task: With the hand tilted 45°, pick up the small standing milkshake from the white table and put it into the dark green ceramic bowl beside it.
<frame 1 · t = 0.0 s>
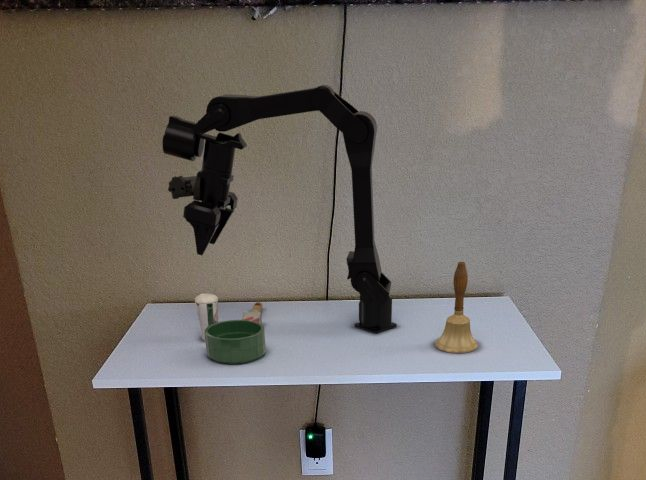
hand: (205, 249, 152), 15 cm above the table, tool pointing down, fingers open, 9 cm apart
bowl: (236, 354, 144), on the table
hand bell: (456, 346, 146), on the table
paintbrush: (253, 325, 159), on the table
milkshake: (212, 339, 152), on the table
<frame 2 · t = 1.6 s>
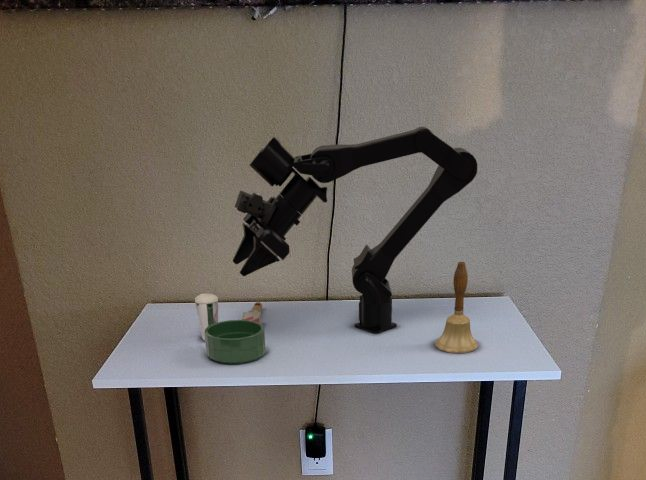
hand: (237, 268, 146), 13 cm above the table, tool tilted 45°, fingers open, 9 cm apart
nothing on the table moved.
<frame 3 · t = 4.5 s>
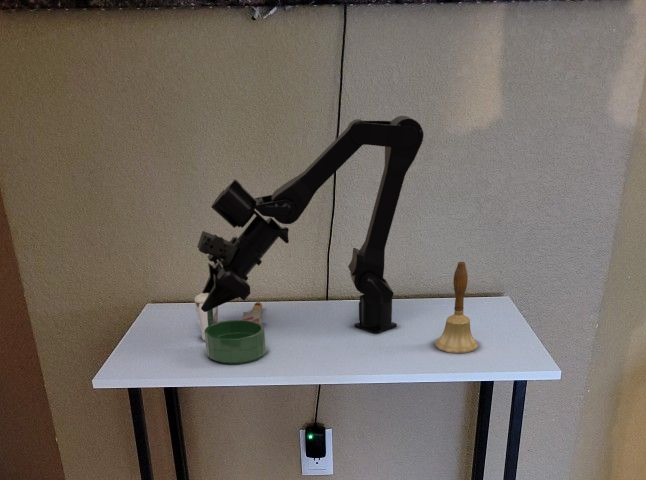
hand: (201, 306, 148), 7 cm above the table, tool tilted 45°, fingers closed on milkshake, 4 cm apart
milkshake: (212, 339, 152), on the table, touching gripper
everything else where it was.
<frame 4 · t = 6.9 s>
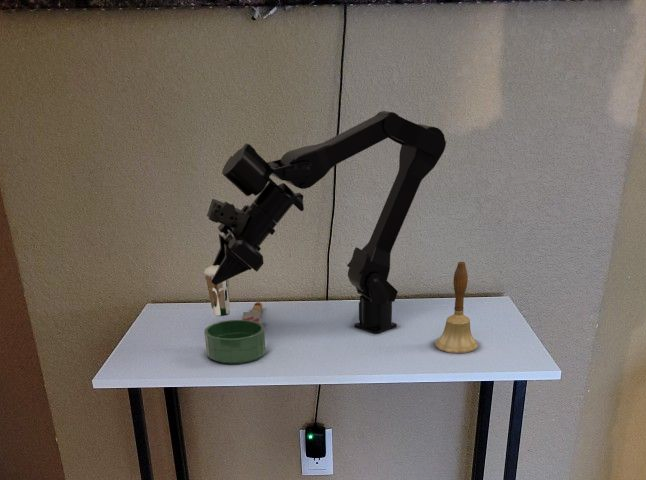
hand: (211, 279, 140), 13 cm above the table, tool tilted 45°, fingers closed on milkshake, 4 cm apart
milkshake: (223, 314, 144), point 6 cm above the table, touching gripper
everything else where it was.
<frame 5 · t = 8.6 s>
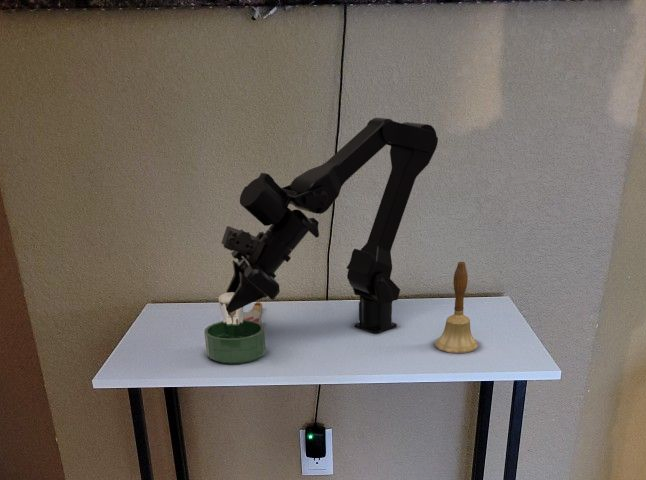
hand: (225, 307, 139), 9 cm above the table, tool tilted 45°, fingers closed on milkshake, 4 cm apart
milkshake: (237, 341, 143), point 3 cm above the table, touching gripper
everything else where it was.
when the fingers open (7 cm above the table, at t = 9.7 s): milkshake stays where it is, resting on bowl.
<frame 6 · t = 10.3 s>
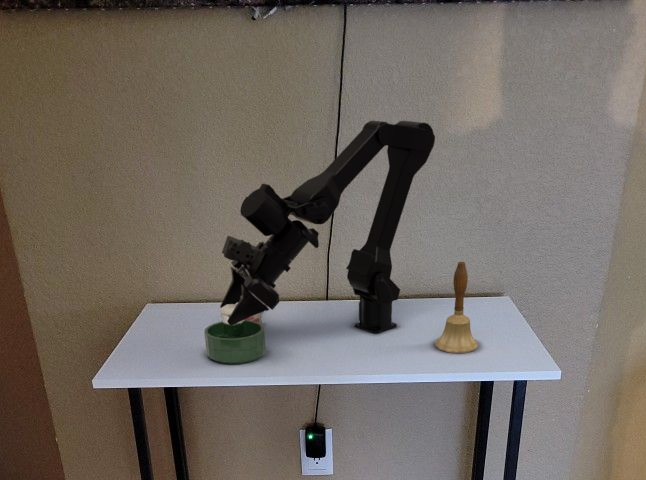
hand: (225, 315, 139), 8 cm above the table, tool tilted 45°, fingers open, 9 cm apart
milkshake: (237, 352, 144), resting on bowl
everything else where it was.
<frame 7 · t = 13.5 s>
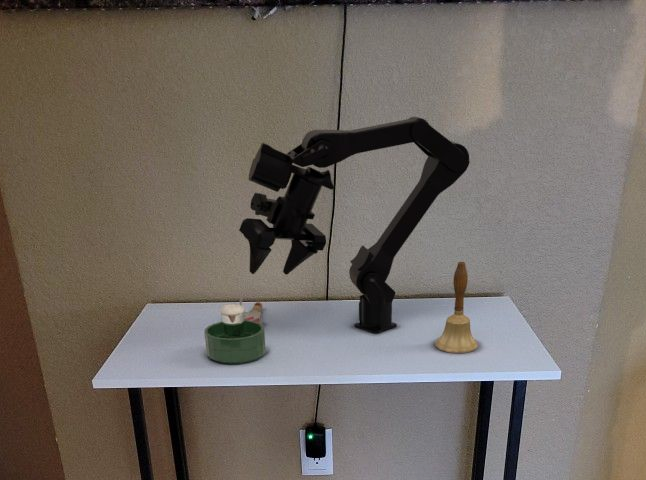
hand: (268, 273, 150), 12 cm above the table, tool tilted 25°, fingers open, 9 cm apart
nothing on the table moved.
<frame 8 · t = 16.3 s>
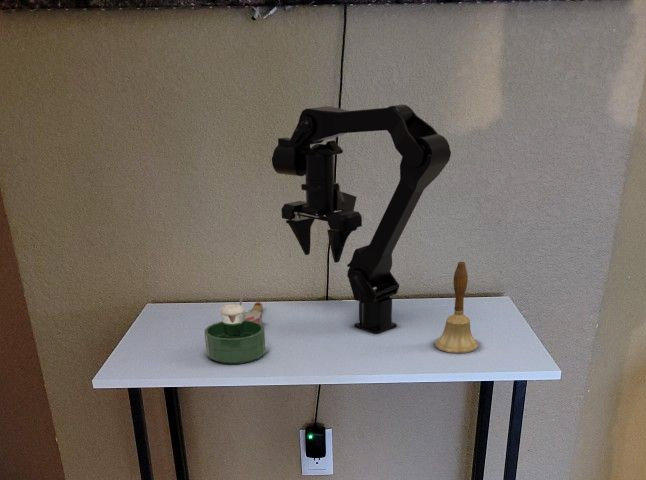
hand: (321, 258, 157), 12 cm above the table, tool pointing down, fingers open, 9 cm apart
nothing on the table moved.
at the end: milkshake inside the target area in the bowl (0.2 cm from its centre), point 0.4 cm above the bowl's base; the gripper is holding nothing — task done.
